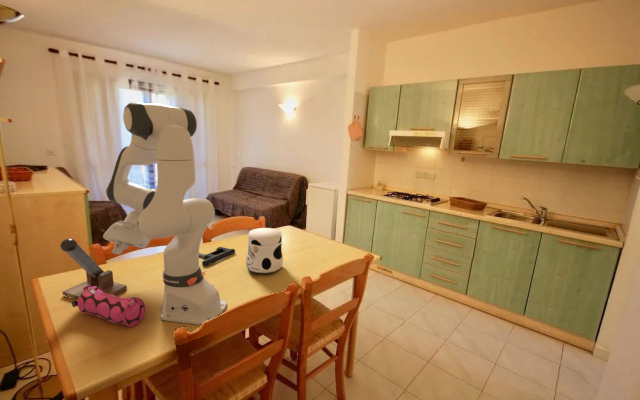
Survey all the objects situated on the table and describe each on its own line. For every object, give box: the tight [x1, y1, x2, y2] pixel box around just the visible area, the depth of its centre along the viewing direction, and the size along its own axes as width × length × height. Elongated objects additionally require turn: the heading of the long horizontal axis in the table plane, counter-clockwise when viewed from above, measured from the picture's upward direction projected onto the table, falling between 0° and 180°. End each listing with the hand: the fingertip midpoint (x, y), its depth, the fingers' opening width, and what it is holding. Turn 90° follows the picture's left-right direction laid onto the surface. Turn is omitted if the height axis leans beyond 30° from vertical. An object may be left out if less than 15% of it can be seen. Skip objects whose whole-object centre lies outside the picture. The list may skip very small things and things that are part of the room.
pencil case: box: [71, 285, 147, 328], centre depth 94 cm, size 21×10×10 cm, turn 75°
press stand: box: [62, 269, 128, 301], centre depth 108 cm, size 16×12×8 cm
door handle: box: [199, 246, 236, 267], centre depth 147 cm, size 3×20×16 cm
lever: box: [59, 238, 105, 282], centre depth 103 cm, size 4×4×22 cm
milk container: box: [245, 227, 284, 275], centre depth 136 cm, size 17×17×18 cm
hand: (115, 253), depth 115 cm, fingers closed
